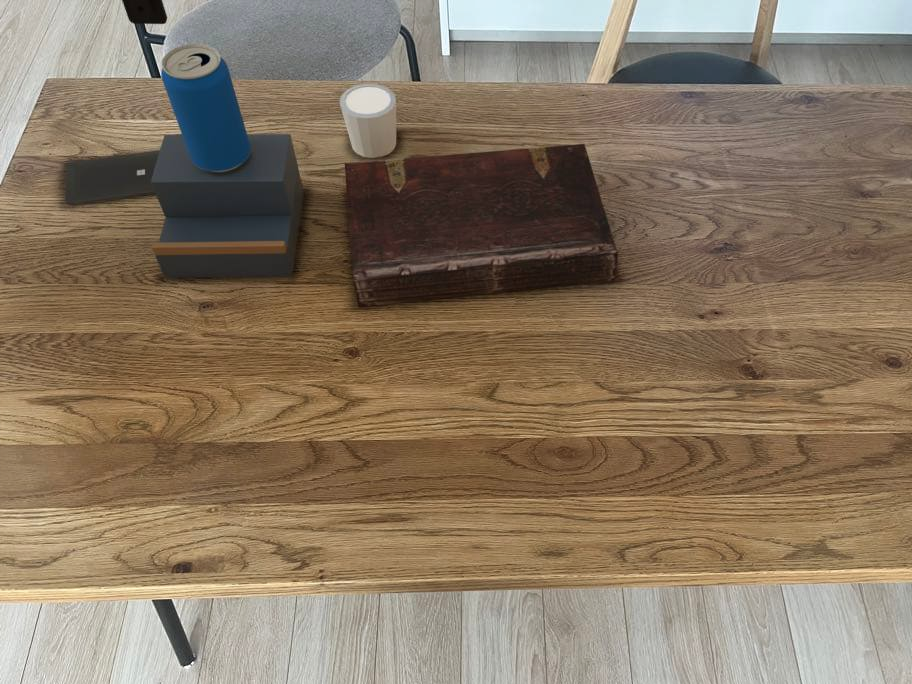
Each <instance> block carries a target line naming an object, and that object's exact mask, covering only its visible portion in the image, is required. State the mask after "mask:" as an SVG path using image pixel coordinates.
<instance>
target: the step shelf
mask: <svg viewBox="0 0 912 684" xmlns="http://www.w3.org/2000/svg"><path fill="white" fill-rule="evenodd" d="M247 136H248V139H249V143H250V147H251V151H250V155H249V156H248V158H247V159H246V160H245V161H244V162H243V163H242V164H241V165H239V166H238V167H237V168H235V169H232V170H230V171H226V172H212V171H208V170H204V169H201V168H199V167H197V166H196V165H195V164H194V163H193V162H192V160H191V158H190V155H189V153H188V150H187V147H186V144H185V142H184V139H183V136H182V134H164V135H163V139H162V141H161V146H160V149H159V151H160V152H159V156H158V159H157V163H156V166H155V170H154V173H153V176H152V180H151V184H152V186H153V189H154V191H155V193H156V194H155V195H156V198H157V201H158V203H159V205H160V208H161V210H162V212H163V215H164V221H163V225H162V228H161V232H160V236H159V240H158V242H152V245H151V249H152V251H153V254H154V256H155V258H156V260H157V263H158V264H159V267H160V269H161V272H162V274H163V276H164V278H165V279H181V278H183V279H189V278H191V279H193V278H244V277H245V278H247V277H248V278H249V277H250V278H252V277H253V278H255V277H292V276H293V275H294V267H295V261H296V252H297V245H298V239H299V231H300V224H301V217H302V210H303V209H302V208H303V203H304V201H303V200H304V195H305V191H304V187H303V182H302V178H301V173H300V169H299V165H298V161H297V156H296V152H295V148H294V144H293V140H292V135H291V134H290V133H256V134H255V133H247Z"/></svg>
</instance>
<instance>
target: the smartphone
mask: <svg viewBox="0 0 912 684" xmlns="http://www.w3.org/2000/svg"><path fill="white" fill-rule="evenodd" d="M159 152H160V150H154V151H147V152H146V151H145V152H138V153H130V154H122V155H116V156H115V155H113V156H107V157H99V158H93V159H86V160H84V159H83V160H77V161H72V162H70V163H68V164H67V166H66V170H65V171H66V174H65V193H64V201H65V203H66V204H67V205H68V206H78V205H84V204H85V205H86V204H93V203H100V202H106V201H115V200H121V199H122V200H123V199H128V198H129V199H130V198H135V197H141V196H142V197H143V196H150V195H156V193H155V191H154V189H153V186H152V184H151V180H152V176H153V173H154V170H155V166H156V163H157V159H158V156H159Z"/></svg>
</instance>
